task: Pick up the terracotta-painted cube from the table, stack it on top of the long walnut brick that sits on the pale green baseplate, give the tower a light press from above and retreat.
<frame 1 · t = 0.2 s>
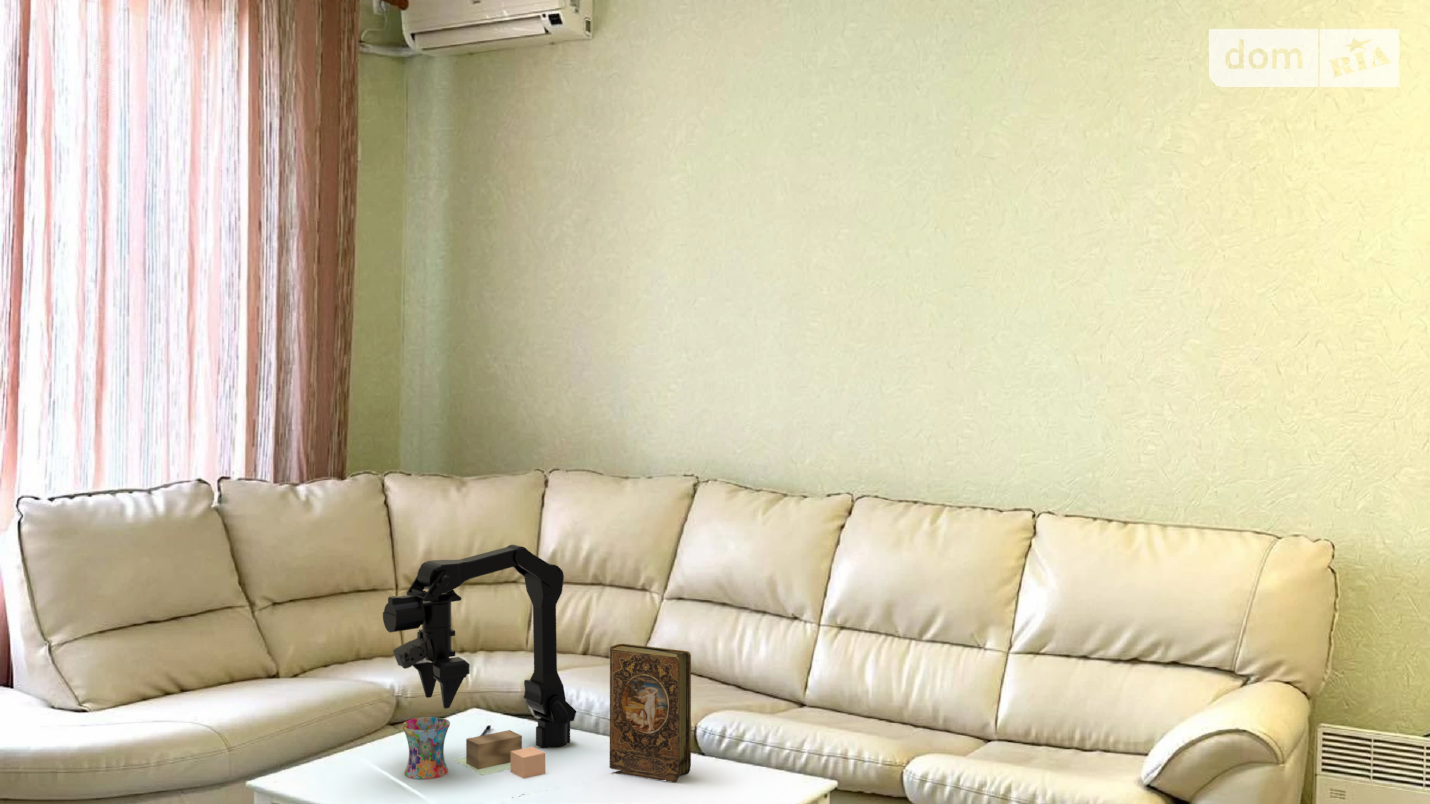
hand: (437, 702, 263), 14 cm above the table, tool pointing down, fingers open, 9 cm apart
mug: (429, 775, 263), on the table
book: (647, 774, 264), on the table
walnut brick: (494, 761, 269), point 1 cm above the table, touching baseplate
cube: (527, 776, 262), on the table
baseplate: (494, 765, 269), on the table
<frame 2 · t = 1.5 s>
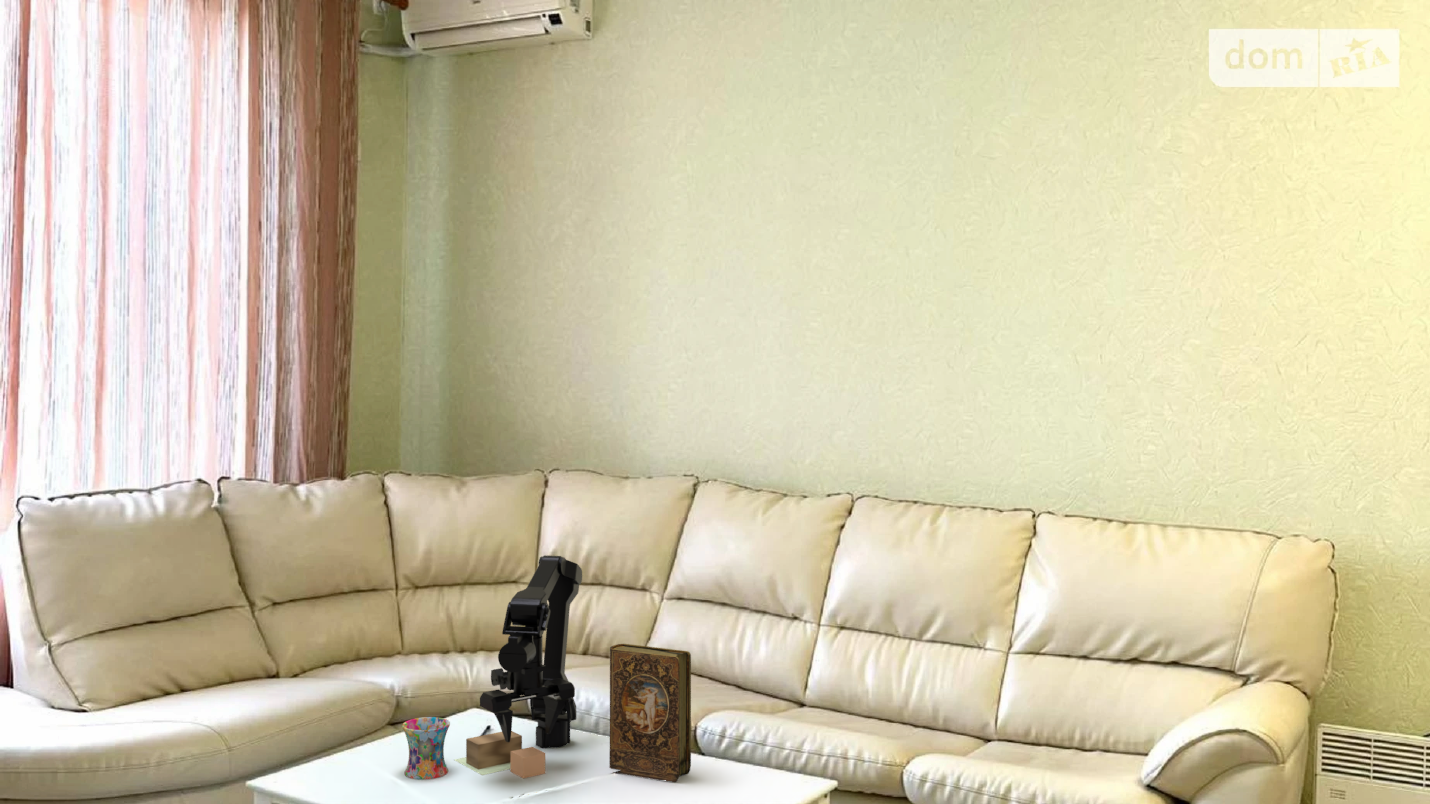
hand: (528, 737, 262), 8 cm above the table, tool pointing down, fingers open, 9 cm apart
nothing on the table moved.
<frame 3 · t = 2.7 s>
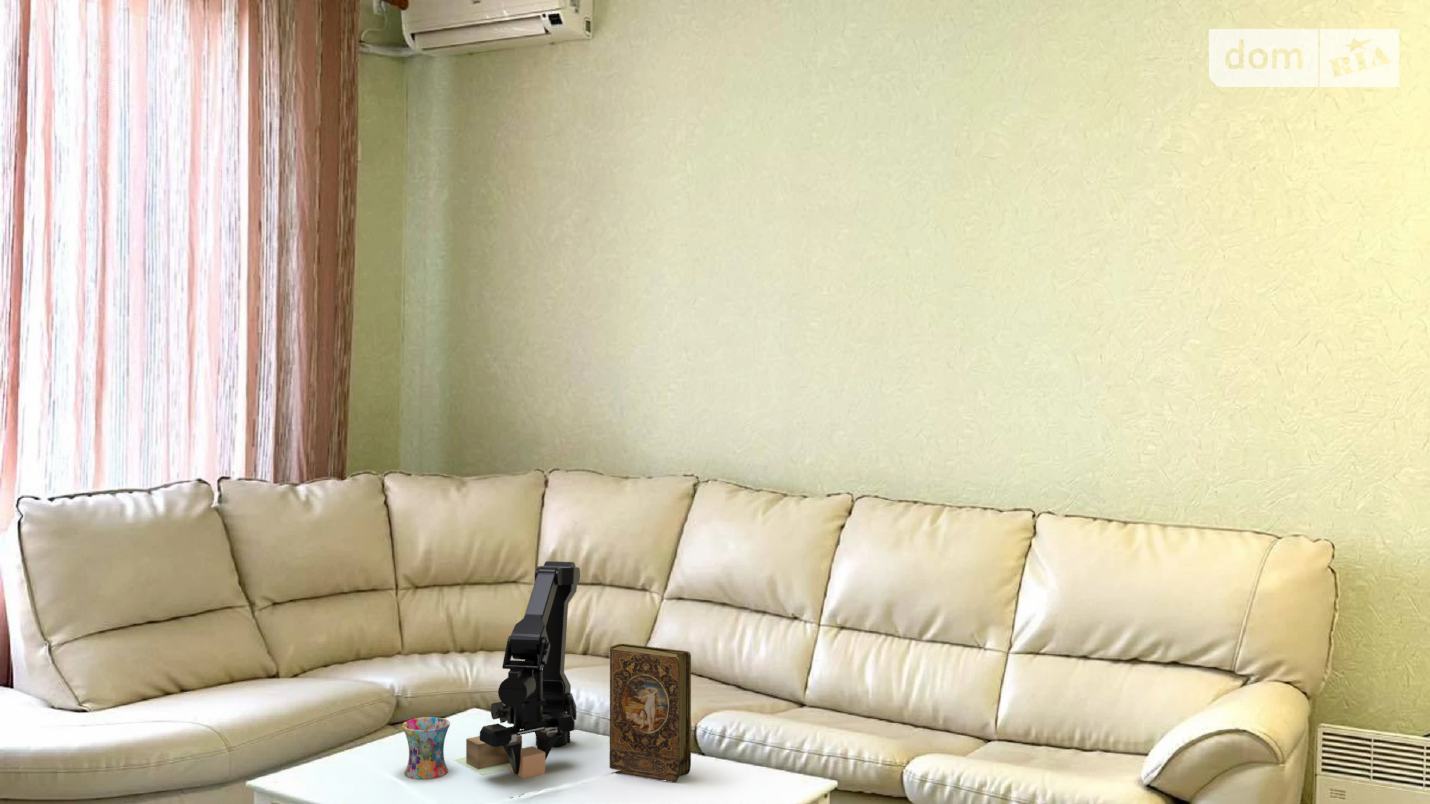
hand: (527, 771, 262), 1 cm above the table, tool pointing down, fingers closed on cube, 5 cm apart
cube: (527, 776, 262), on the table, touching gripper
everything else where it was.
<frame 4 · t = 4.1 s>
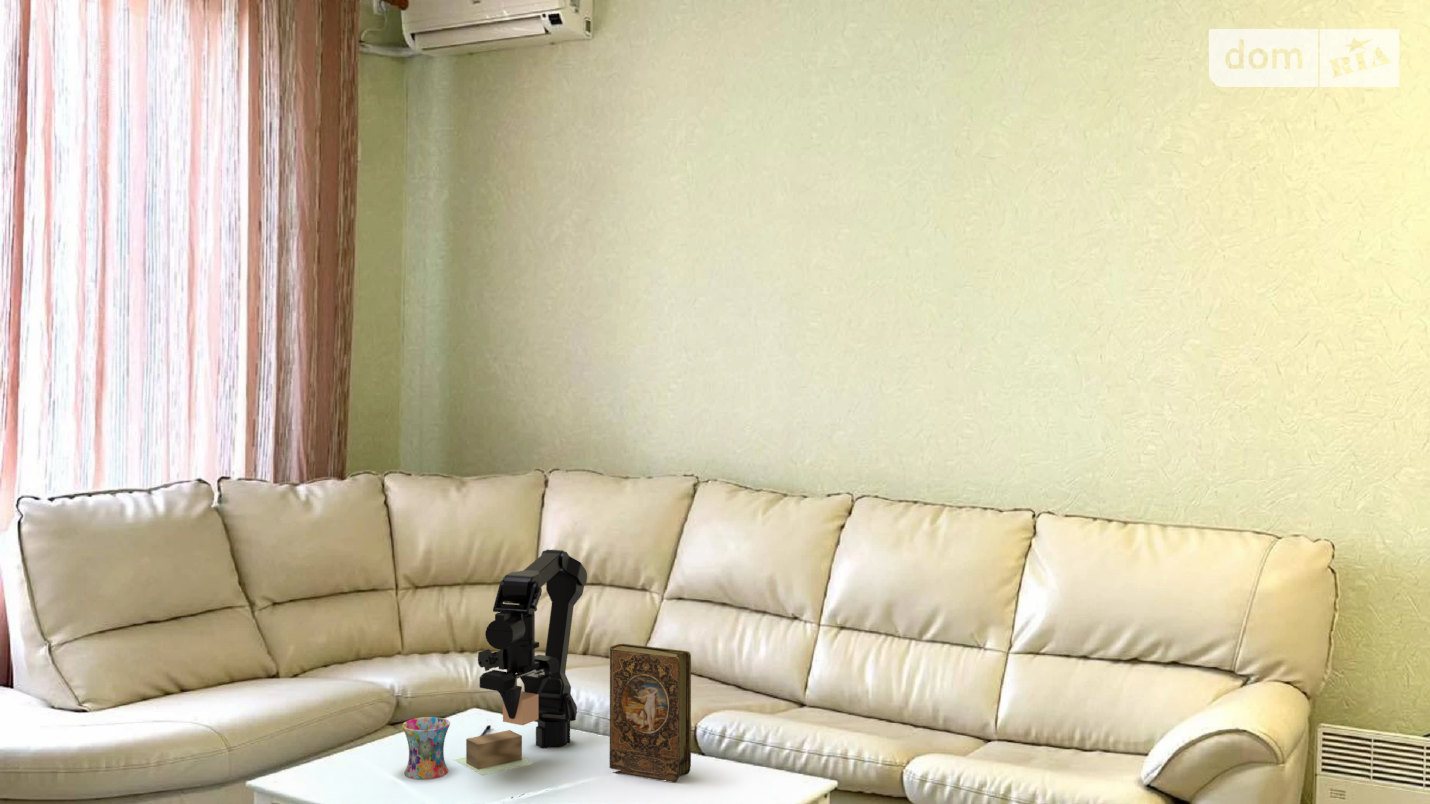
hand: (520, 715, 263), 12 cm above the table, tool pointing down, fingers closed on cube, 5 cm apart
cube: (520, 720, 263), point 11 cm above the table, touching gripper
everything else where it was.
when the fingers open (8 cm above the table, at t = 5.7 s): cube stays where it is, resting on walnut brick.
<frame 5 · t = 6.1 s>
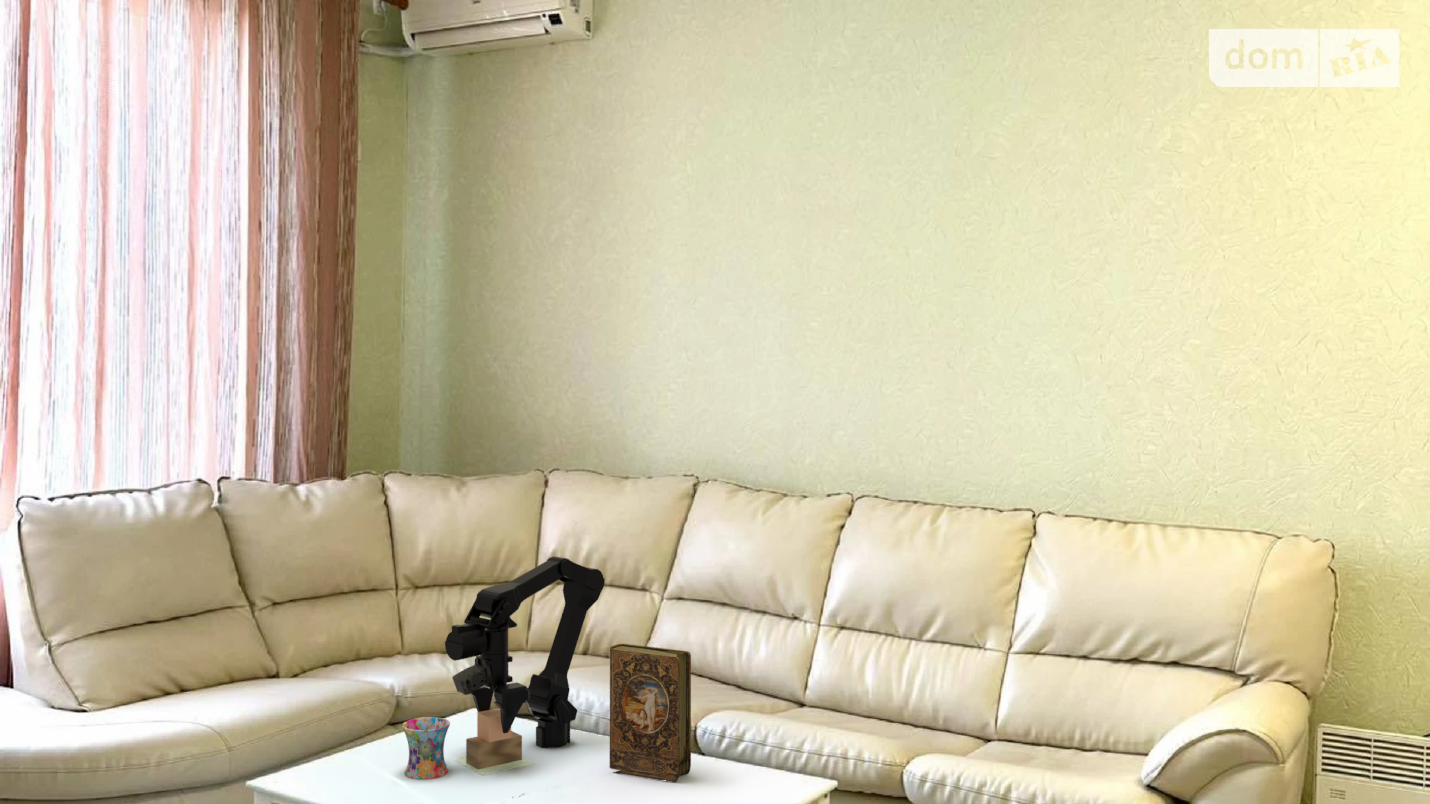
hand: (494, 727, 268), 8 cm above the table, tool pointing down, fingers open, 9 cm apart
walnut brick: (494, 761, 269), point 1 cm above the table, touching baseplate, cube
cube: (494, 737, 268), point 6 cm above the table, touching walnut brick
everything else where it was.
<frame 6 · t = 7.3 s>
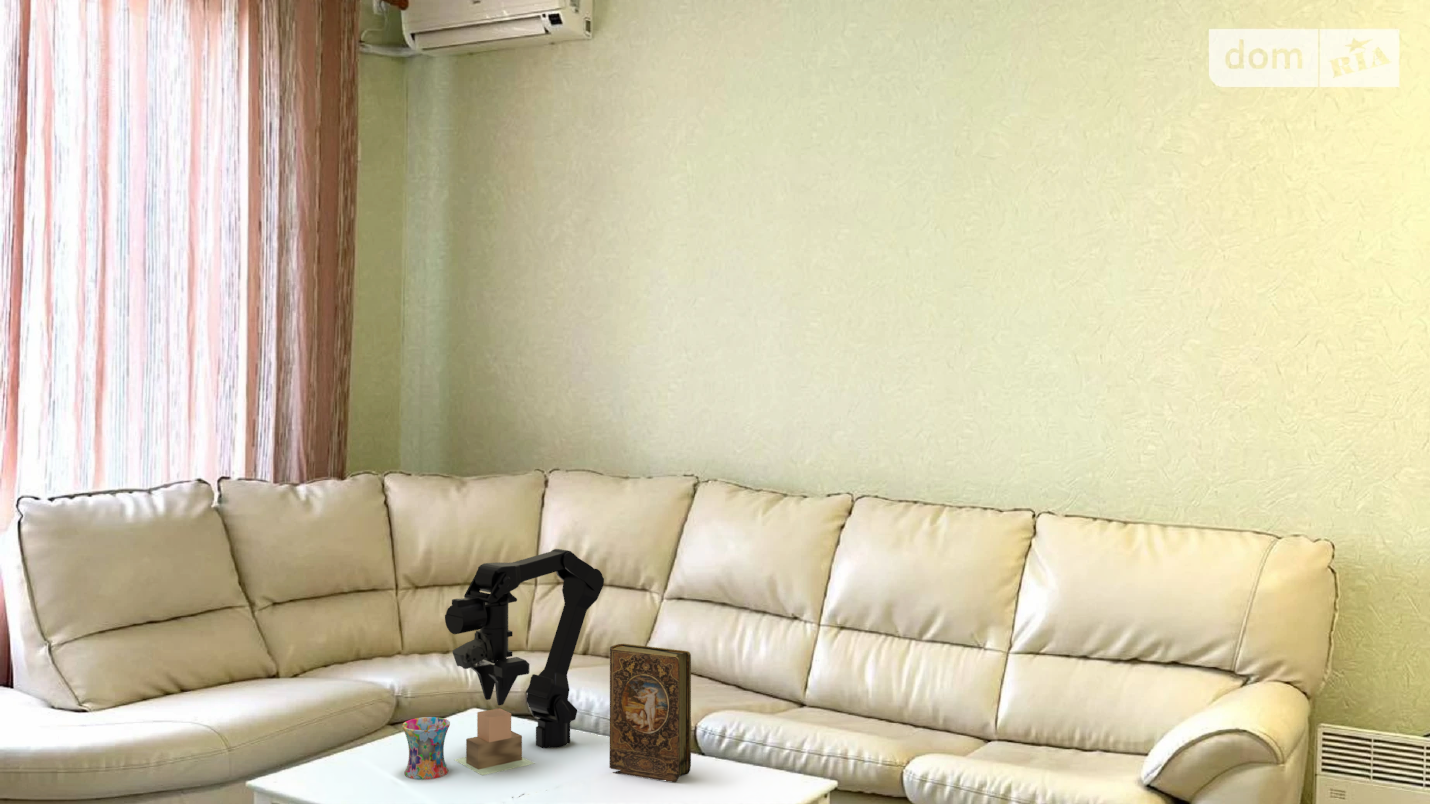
hand: (494, 702, 268), 13 cm above the table, tool pointing down, fingers open, 5 cm apart
nothing on the table moved.
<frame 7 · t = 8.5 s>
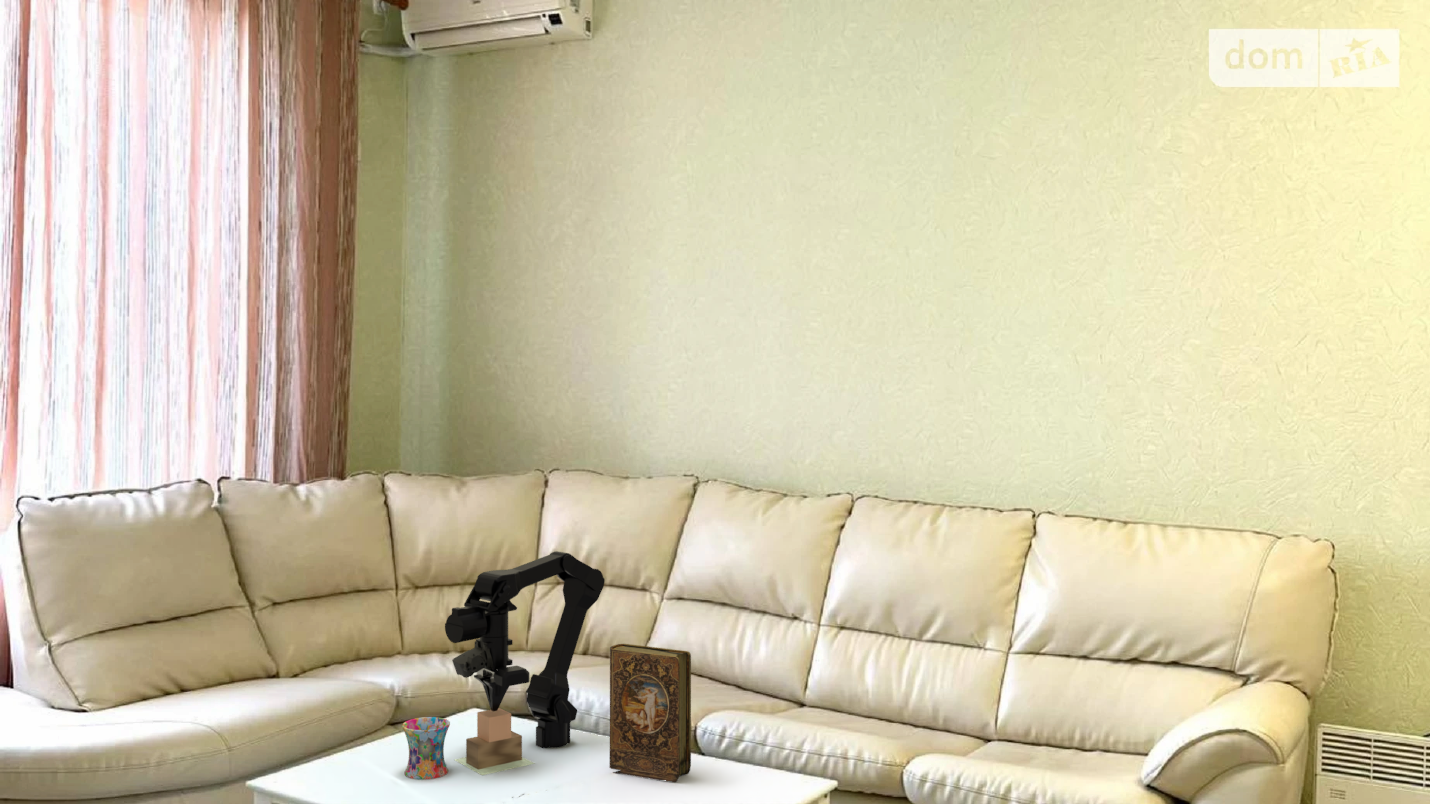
hand: (494, 710, 268), 11 cm above the table, tool pointing down, fingers closed
nothing on the table moved.
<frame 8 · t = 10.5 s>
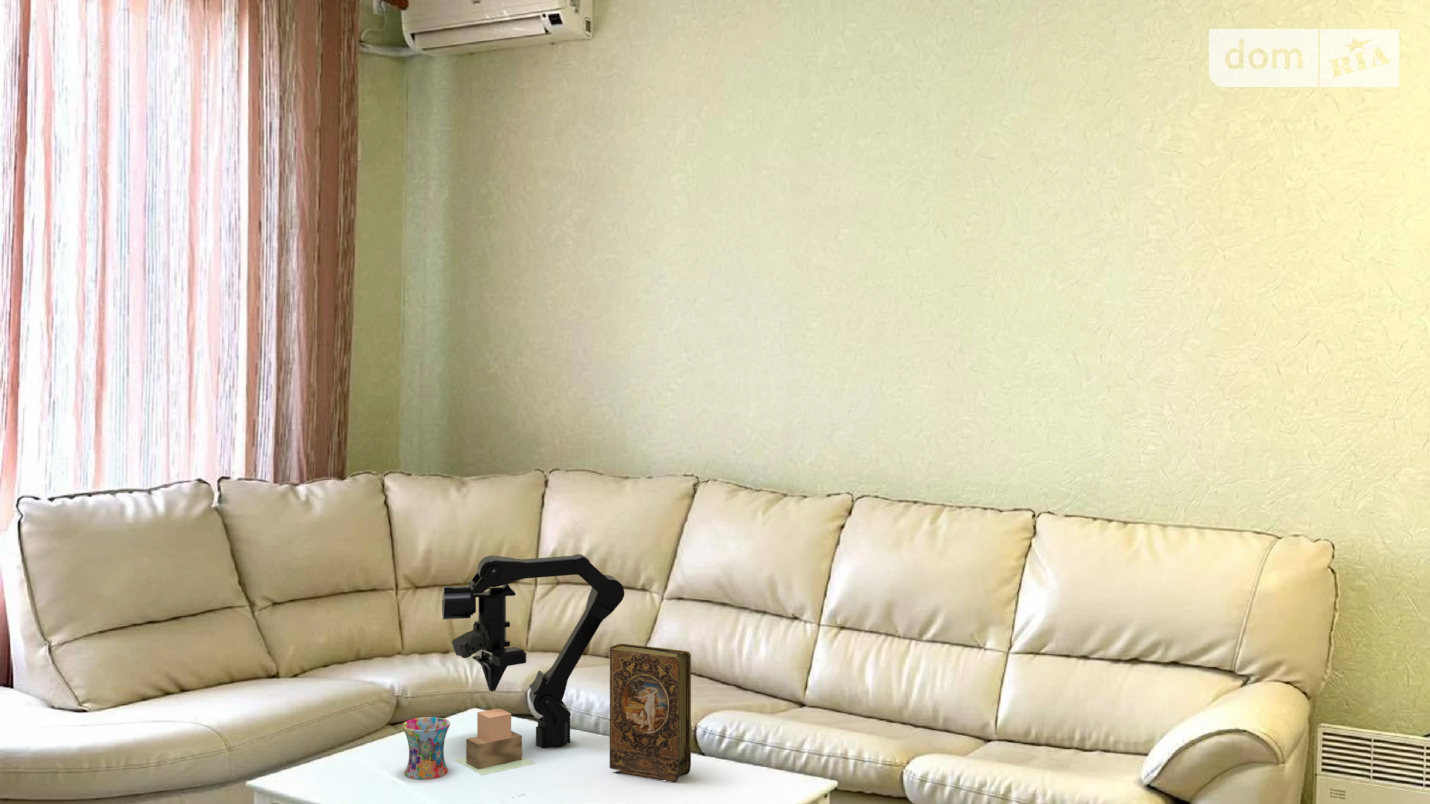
hand: (492, 690, 277), 13 cm above the table, tool pointing down, fingers closed
nothing on the table moved.
at the end: cube 0.0 cm off-centre on the walnut brick, point 5.0 cm above the walnut brick's base; cube tilted 0°; the gripper is holding nothing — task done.
